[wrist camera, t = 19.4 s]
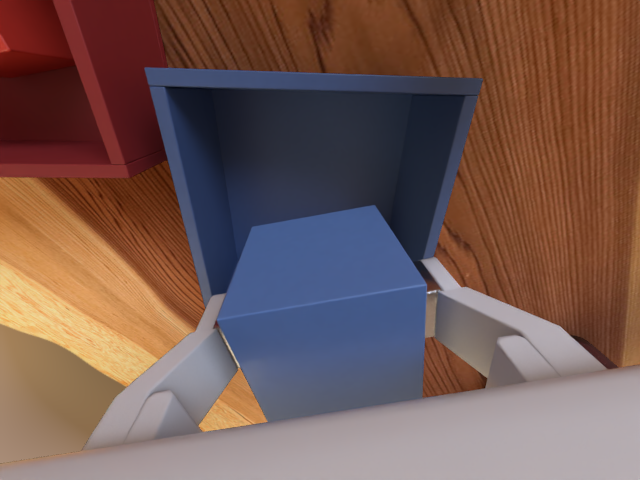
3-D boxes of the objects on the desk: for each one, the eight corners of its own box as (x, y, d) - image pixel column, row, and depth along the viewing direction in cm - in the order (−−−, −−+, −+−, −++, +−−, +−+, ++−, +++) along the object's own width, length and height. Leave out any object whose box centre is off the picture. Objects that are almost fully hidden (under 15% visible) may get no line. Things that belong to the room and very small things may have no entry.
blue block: (251, 226, 9) (214, 319, 5) (375, 204, 9) (428, 284, 5) (281, 315, 12) (270, 428, 8) (381, 298, 11) (422, 405, 8)
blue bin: (201, 77, 15) (143, 66, 10) (420, 83, 16) (483, 78, 11) (232, 263, 22) (208, 322, 16) (388, 261, 23) (416, 317, 17)
